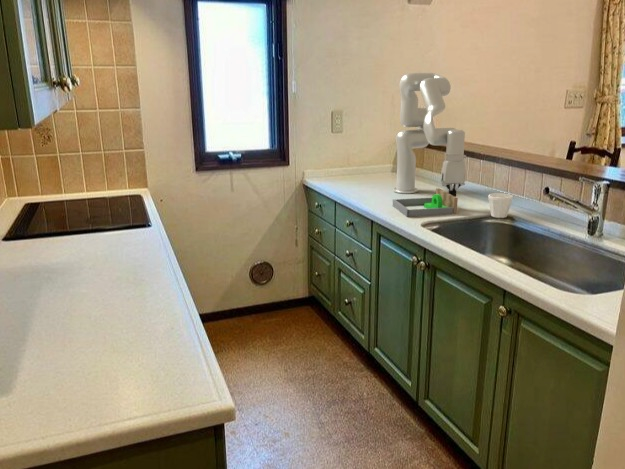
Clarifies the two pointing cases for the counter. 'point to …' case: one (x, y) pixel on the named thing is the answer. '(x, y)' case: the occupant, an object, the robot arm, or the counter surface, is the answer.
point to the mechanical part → (435, 202)
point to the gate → (448, 199)
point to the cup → (499, 204)
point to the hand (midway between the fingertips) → (452, 198)
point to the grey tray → (401, 204)
